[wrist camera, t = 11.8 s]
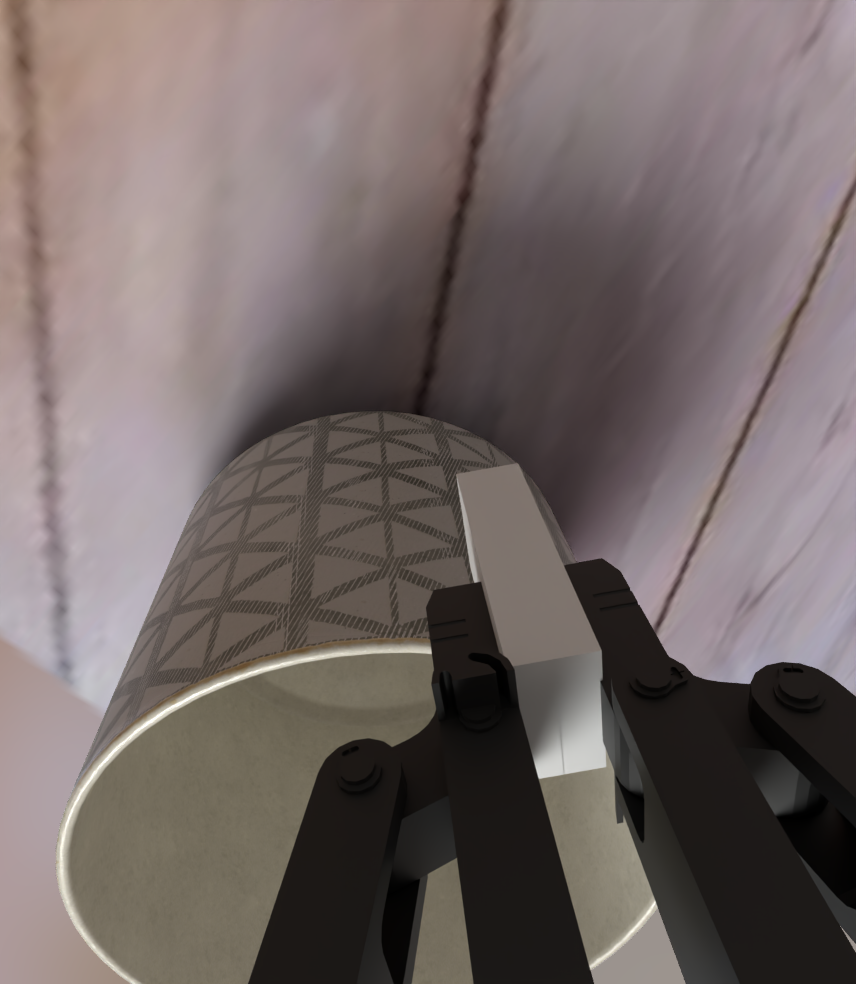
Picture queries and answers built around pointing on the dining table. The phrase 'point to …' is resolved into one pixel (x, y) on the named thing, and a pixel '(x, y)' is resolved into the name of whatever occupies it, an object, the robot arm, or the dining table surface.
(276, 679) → the planter
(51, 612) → the dining table surface
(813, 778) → the robot arm
